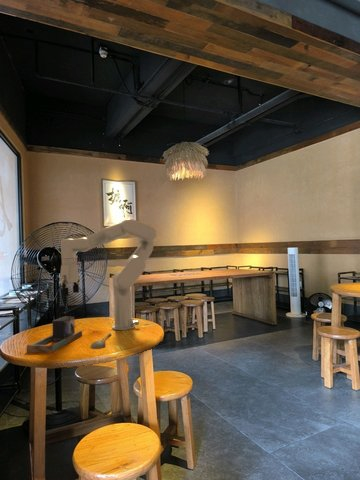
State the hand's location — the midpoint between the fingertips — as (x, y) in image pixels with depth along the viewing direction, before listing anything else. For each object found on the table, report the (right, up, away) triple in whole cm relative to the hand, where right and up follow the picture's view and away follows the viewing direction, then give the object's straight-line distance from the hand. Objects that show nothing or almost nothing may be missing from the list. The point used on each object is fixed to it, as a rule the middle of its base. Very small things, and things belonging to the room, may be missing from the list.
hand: (70, 293), depth 170 cm
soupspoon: (+22, -21, -17) cm, 35 cm away
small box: (0, -21, -11) cm, 24 cm away
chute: (-1, -21, -16) cm, 27 cm away
